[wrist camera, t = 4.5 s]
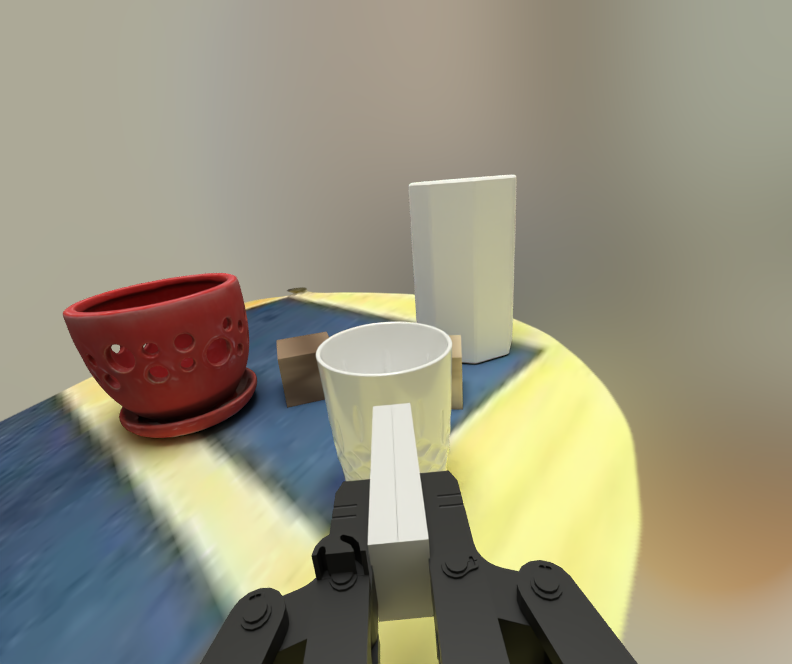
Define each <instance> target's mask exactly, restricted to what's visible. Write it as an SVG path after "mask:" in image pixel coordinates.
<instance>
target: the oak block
mask: <svg viewBox="0 0 792 664" xmlns="http://www.w3.org/2000/svg"><path fill="white" fill-rule="evenodd" d="M449 337H450V338H451V340H452V380H451V409H463V396H462V352H461V335H449Z"/></svg>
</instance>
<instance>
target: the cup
mask: <svg viewBox="0 0 792 664" xmlns="http://www.w3.org/2000/svg"><path fill="white" fill-rule="evenodd" d="M516 181H517V177H516V176H515V175H503V176H502V175H501V176H489V177H475V178H463V179H450V180H439V181H427V182H417V183H410V185H409V186H408V189H409V205H410V222H411V236H412V253H413V270H414V285H415V303H416V319H417V323H420V324H425V325H429V326H433V327H436V328H438V329H440V330H442V331H444V332H445V333H447V334H448V335H461V352H462V363H471V364H476V363H480V362H483V361H487V360H490V359H493V358H497V357H500V356H504V355H506V354H508V353H509V350H510V346H511V342H512V324H513V288H514V254H515V219H516V184H517V182H516Z"/></svg>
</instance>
